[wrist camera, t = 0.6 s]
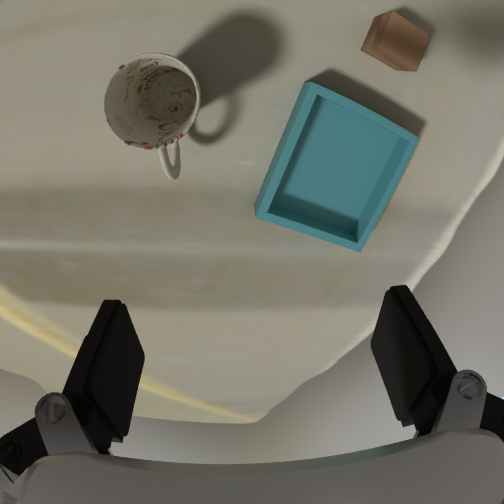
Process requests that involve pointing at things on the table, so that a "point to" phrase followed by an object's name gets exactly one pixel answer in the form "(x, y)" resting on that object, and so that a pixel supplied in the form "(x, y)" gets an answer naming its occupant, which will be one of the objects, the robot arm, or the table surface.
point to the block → (396, 42)
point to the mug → (153, 105)
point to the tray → (333, 168)
